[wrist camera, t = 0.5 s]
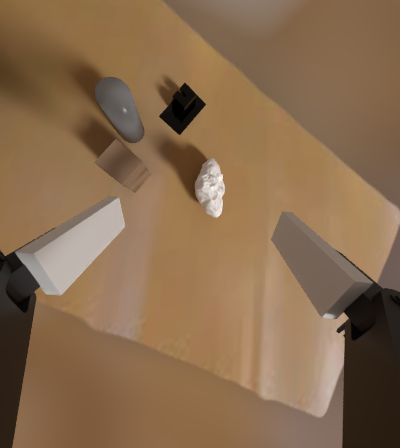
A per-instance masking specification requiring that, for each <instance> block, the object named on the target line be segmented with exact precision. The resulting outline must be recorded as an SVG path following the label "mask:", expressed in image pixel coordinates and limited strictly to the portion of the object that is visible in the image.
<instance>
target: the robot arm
mask: <svg viewBox="0 0 400 448" xmlns="http://www.w3.org/2000/svg"><path fill="white" fill-rule="evenodd" d="M124 227H125V223H124V218H123V214H122V209H121V204H120V200H119V197H111V196H109V197H108V198H106V199H104V200H102V201H101V202H99V203H97V204H96V205H94V206H92V207H90V208H89V209H87V210H85V211H84V212H82V213H80V214H79V215H77V216H75V217H73V218H72V219H70V220H68V221H67V222H65V223H63V224H62V225H60V226H58V227H56V228H54V229H52V230H50V231H48V232H47V233H45V234H44V235H41V236H40V237H38V238H37V239H34V240H33V241H31V242H29V243H28V244H26V245H24V246H22V247H21V248H19V249H17V250H16V251H14V252H12V253H10V254H9V255H7V256H4V254H3V253H2V252H1V251H0V448H12V445H13V439H14V433H15V427H16V420H17V414H18V407H19V402H20V396H21V390H22V383H23V377H24V371H25V365H26V358H27V353H28V346H29V340H30V334H31V328H32V321H33V315H34V308H35V303H36V294H35V293H34V291H35V290H36V289H38V288H39V287H41V288H42V290H43V291H44V292H45V294H51V295H62V294H63V293H64V292H65V291H66V290H67V289H68V287H69V286H70V285H71V284H72V283H73V282H74V281H75V280H76V279H77V278H78V277H79V276H80V275H81V273H82V272H83V271H84V270H85V269H86V268H87V267H88V266H89V265H90V264H91V263H92V262H93V261H94V260H95V258H96V257H97V256H98V255H99V254H100V253H101V252H102V251H103V250H104V249H105V248H106V247H107V246H108V245H109V243H110V242H111V241H112V240H113V239H114V238H115V237H116V236H117V235H118V234H119V233H120V232H121V231H122V230H123V228H124ZM271 240H272V241H273V243H274V244H275V246H276V248H277V249H278V251H279V252H280V254H281V255H282V257H283V259H284V260H285V262H286V263H287V265H288V266H289V268H290V269H291V271H292V273H293V274H294V276H295V277H296V279H297V280H298V282H299V283H300V285H301V287H302V288H303V290H304V291H305V293H306V294H307V296H308V298H309V299H310V301H311V302H312V304H313V305H314V307H315V308H316V310H317V312H318V313H319V315H320V316H321V318H331V319H337V318H338V317H339V316H340V315H341V314H342V313H343V312H344V313H345V314H346V315H347V316H348V318H349V319H348V320H347V321H346V322H345V323H343V324H342V325H341V326H340V327H339V328H338V329H337V331H336V332H338V333H340V332H341V331H343V330H345V335H343V336H344V337H345V351H344V398H343V400H344V401H343V445H342V446H343V447H342V448H400V292H398V291H395V290H392V289H387V288H385V289H383V288H382V287H380V286H379V285H378V284H377V283H376V282H375V281H373V280H372V279H371V278H370V277H369V276H367V275H366V274H365V273H364V272H363V271H362V270H360V269H359V268H358V267H356V266H355V264H353V263H352V262H351V261H349V259H347V258H346V257H345V256H344V255H343V254H342V253H340V252H338V251H337V250H335V249H334V248H332V247H331V246H330V245H329V244H328V243H327V242H325V241H324V240H323V239H322V238H321V237H320V236H319V235H317V234H316V233H315V232H314V231H313V230H312V229H310V228H309V227H308V226H307V225H306V224H305V223H303V222H302V221H301V220H300V219H299V218H298V217H297V216H295V215H294V214H293V213H292V212H282V214H281V216H280V219H279V221H278V224H277V226H276V229H275V231H274V234H273V236H272V239H271Z"/></svg>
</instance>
